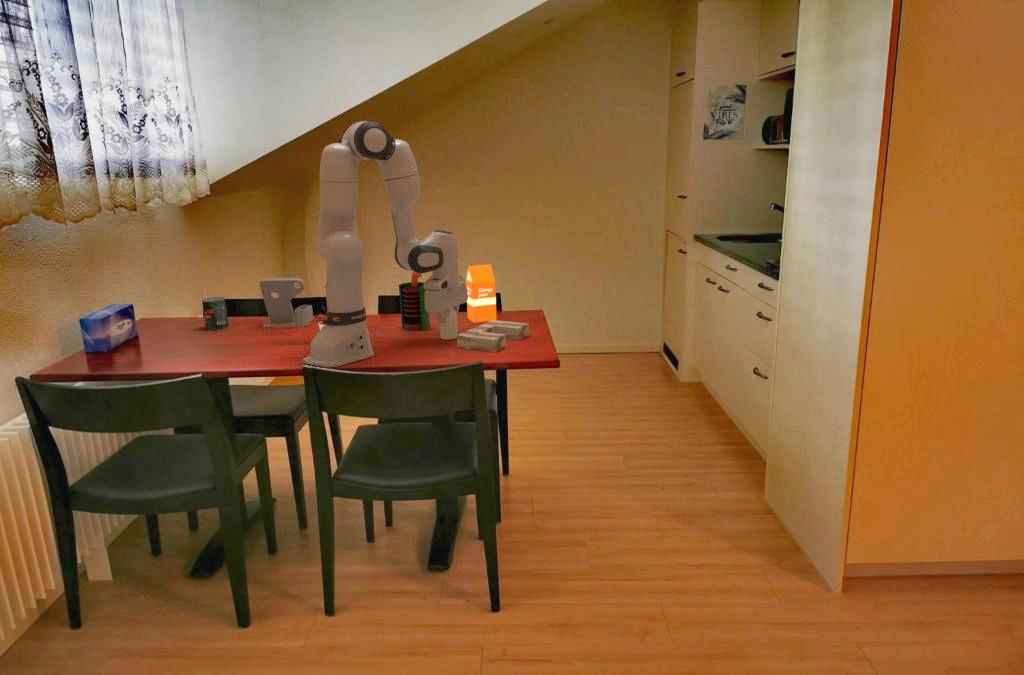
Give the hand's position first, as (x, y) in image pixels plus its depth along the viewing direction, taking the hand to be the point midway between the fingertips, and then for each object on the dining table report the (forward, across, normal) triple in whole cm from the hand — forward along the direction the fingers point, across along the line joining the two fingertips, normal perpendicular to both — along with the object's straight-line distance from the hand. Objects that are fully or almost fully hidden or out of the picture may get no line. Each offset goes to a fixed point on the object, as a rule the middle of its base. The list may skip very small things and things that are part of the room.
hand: (448, 321), depth 243 cm
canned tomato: (+7, +22, -88) cm, 91 cm away
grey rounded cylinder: (+6, 0, 0) cm, 6 cm away
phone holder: (+6, +7, -67) cm, 68 cm away
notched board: (+6, -2, +16) cm, 17 cm away
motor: (+6, -7, -19) cm, 21 cm away
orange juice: (+6, -27, -4) cm, 28 cm away
